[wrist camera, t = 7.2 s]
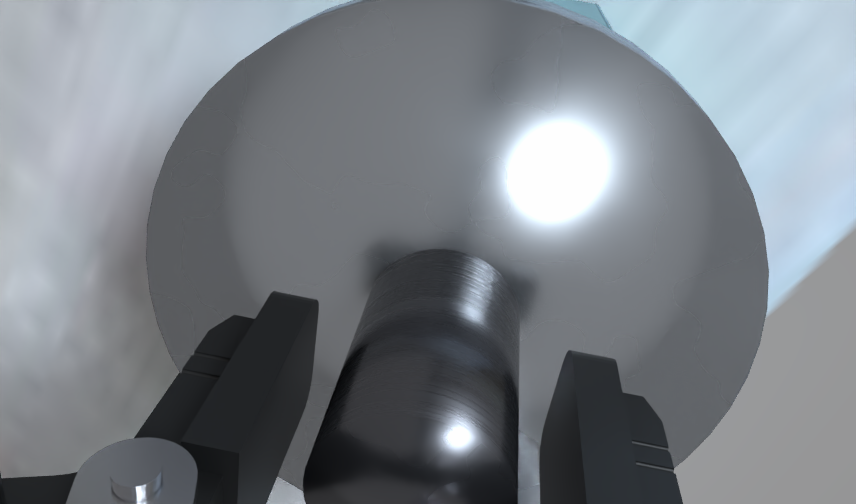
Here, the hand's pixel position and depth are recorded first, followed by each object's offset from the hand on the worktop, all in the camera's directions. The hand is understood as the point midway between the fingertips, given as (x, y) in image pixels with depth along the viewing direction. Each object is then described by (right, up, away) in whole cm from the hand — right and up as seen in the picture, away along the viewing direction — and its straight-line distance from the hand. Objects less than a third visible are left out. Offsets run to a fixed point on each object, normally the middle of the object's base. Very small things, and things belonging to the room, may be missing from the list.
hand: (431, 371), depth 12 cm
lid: (0, +1, +2) cm, 3 cm away
